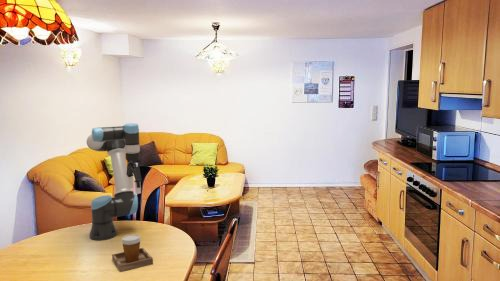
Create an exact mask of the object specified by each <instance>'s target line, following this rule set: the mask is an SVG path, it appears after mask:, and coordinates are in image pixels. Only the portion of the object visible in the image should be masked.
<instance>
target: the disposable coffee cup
mask: <svg viewBox="0 0 500 281" xmlns="http://www.w3.org/2000/svg"><path fill="white" fill-rule="evenodd" d="M141 239H142V238H141V236H140V235H138V234H135V233H134V234H126V235H124V236H122V238H121V241H120V242H121V244H122V248H123V252H124V255H125V260H126V262H128V263H131V262H136V261H138V260H139V248H140V247H141V246H140V245H141Z"/></svg>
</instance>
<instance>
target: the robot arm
mask: <svg viewBox="0 0 500 281" xmlns="http://www.w3.org/2000/svg"><path fill="white" fill-rule="evenodd" d="M139 127H140V126H139V124H138V123H130V122H129V123H125V124H124V125H122V126H121V125H119V126H104V127H100V126H98V127H93V128H91V134H90V135H89V136H88V137H87V139H86V145H87V147H88V148H89V149H91V150H93V151H95V152H107V155H108V156H110V161H111V168H112V173H113V180H114V181H113V182H114V188H115V193H114V194H113V197H112V195H109V194H108V195H101V196H97V197H95V198H94V199H92V200H91V203H90V204H91V205H90V210H91V228H90V231H89V239H91V240H94V241H102V240H103V241H105V240H109V239H112V238H115V237H116V236H117V235H118V231H117V228H116V226H115V223H114V218H117V217H123V216H130V215H133V214H136V213H137V211H138V206H139V197H138V195H139V194H142V188H141V186H142V185H141V182H142V181H143V179H142V175H141V169H140V163H139V162H138V160H140V159H141V153H140V151H141V146H140V129H139ZM132 189H135V190H134V191H135V193H134V191H133V190H132Z"/></svg>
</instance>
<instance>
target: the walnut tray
mask: <svg viewBox="0 0 500 281" xmlns="http://www.w3.org/2000/svg"><path fill="white" fill-rule="evenodd" d="M153 259H154V258H153V257H152V256H151V255H150V253H149V252H148V251H147V250H146V249H145V248H144V247H141V248H139V260H138V261H136V262H131V263H128V262H126V260H125V255H124V251H122V252H117V253H114V254H111V260H112V262H113V263H114V265H115V266H116V268H117V270H118V271H119V272H120V273H123V272H125V271H130V270H134V269H138V268H142V267H147V266H151V265H154V260H153Z"/></svg>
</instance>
